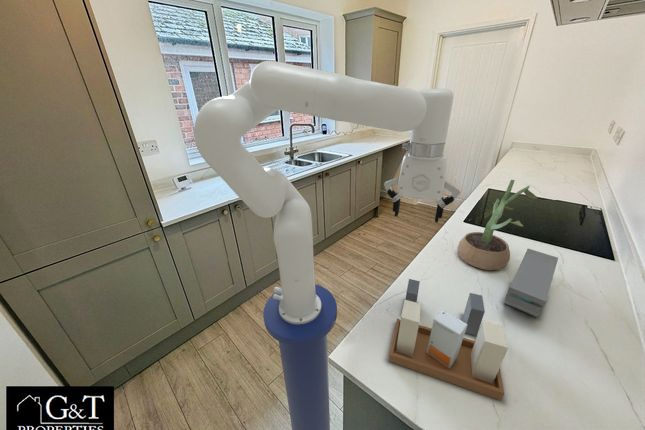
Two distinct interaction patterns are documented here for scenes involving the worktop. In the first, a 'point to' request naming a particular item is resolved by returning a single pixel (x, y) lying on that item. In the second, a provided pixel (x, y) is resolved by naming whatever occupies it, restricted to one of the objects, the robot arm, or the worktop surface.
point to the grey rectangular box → (532, 282)
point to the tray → (428, 365)
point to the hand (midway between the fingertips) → (416, 217)
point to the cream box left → (408, 327)
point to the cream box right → (488, 351)
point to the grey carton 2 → (473, 313)
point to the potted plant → (490, 237)
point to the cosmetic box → (446, 338)
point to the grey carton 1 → (412, 290)
